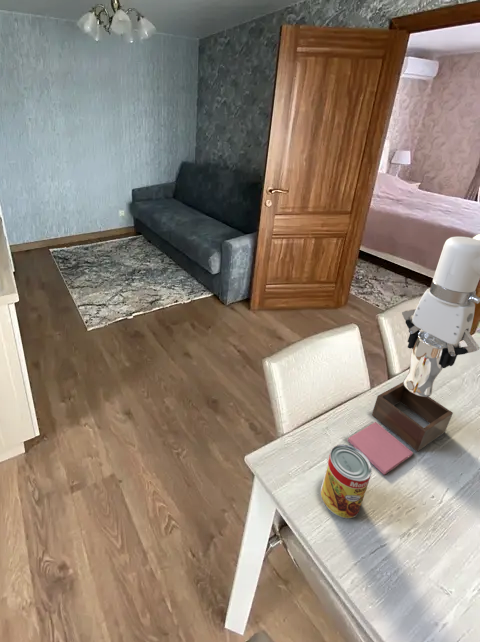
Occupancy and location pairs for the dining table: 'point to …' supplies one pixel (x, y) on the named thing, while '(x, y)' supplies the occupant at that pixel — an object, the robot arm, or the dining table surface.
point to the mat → (380, 447)
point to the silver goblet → (425, 363)
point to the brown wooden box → (404, 424)
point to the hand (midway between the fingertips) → (428, 355)
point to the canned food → (345, 480)
